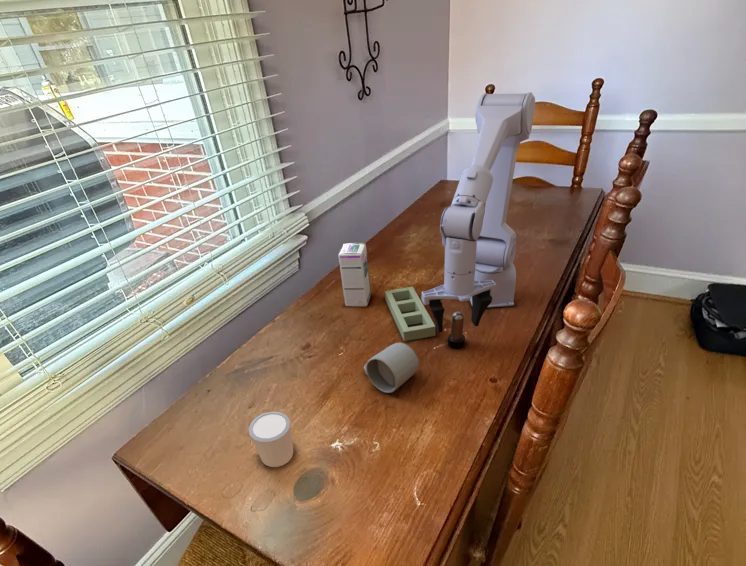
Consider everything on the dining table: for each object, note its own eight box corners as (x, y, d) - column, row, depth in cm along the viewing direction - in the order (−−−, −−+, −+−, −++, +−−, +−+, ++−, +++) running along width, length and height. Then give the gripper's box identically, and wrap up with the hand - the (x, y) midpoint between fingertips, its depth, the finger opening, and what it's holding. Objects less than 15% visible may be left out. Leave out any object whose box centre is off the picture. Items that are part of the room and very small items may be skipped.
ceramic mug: (422, 376, 94) (421, 345, 89) (397, 399, 89) (395, 367, 85) (380, 358, 100) (377, 328, 96) (355, 379, 96) (351, 348, 91)
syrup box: (367, 307, 117) (362, 252, 108) (344, 306, 118) (337, 253, 110) (371, 295, 121) (366, 242, 113) (348, 294, 123) (342, 242, 114)
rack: (412, 295, 119) (412, 286, 118) (435, 335, 104) (435, 326, 103) (385, 299, 119) (384, 291, 117) (403, 341, 104) (403, 332, 102)
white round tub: (258, 441, 84) (249, 413, 80) (296, 436, 84) (290, 408, 80) (256, 472, 79) (246, 444, 75) (297, 467, 79) (290, 438, 75)
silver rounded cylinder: (463, 338, 102) (464, 307, 98) (466, 348, 99) (468, 316, 95) (446, 339, 103) (447, 308, 98) (449, 349, 100) (450, 317, 95)
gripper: (428, 284, 87) (428, 343, 95) (505, 271, 88) (498, 331, 96) (418, 267, 92) (418, 324, 101) (490, 255, 93) (485, 313, 101)
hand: (457, 326), depth 98 cm, fingers open, 7 cm apart
